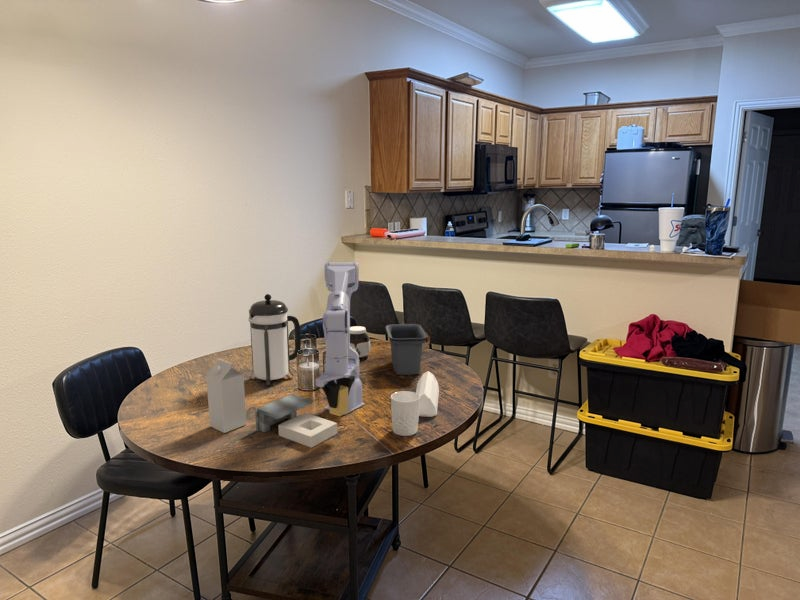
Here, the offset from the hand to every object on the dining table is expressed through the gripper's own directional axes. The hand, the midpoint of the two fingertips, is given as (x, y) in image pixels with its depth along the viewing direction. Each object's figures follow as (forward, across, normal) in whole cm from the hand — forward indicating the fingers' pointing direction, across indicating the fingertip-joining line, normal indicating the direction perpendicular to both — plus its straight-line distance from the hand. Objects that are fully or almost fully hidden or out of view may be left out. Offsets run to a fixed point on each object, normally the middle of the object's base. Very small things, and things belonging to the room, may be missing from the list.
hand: (338, 404), depth 143 cm
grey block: (+9, -4, +16) cm, 19 cm away
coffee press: (+9, +22, +48) cm, 53 cm away
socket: (+9, -4, +7) cm, 12 cm away
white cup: (+9, +13, -13) cm, 20 cm away
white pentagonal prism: (+9, +33, -7) cm, 35 cm away
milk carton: (+9, -13, +29) cm, 33 cm away
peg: (+2, 0, 0) cm, 2 cm away
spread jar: (+9, +54, +38) cm, 67 cm away
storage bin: (+9, +57, +15) cm, 60 cm away
